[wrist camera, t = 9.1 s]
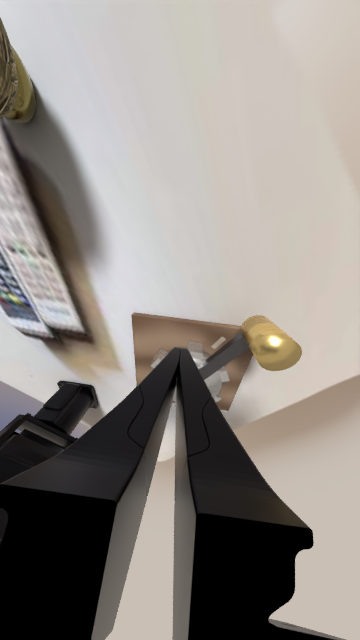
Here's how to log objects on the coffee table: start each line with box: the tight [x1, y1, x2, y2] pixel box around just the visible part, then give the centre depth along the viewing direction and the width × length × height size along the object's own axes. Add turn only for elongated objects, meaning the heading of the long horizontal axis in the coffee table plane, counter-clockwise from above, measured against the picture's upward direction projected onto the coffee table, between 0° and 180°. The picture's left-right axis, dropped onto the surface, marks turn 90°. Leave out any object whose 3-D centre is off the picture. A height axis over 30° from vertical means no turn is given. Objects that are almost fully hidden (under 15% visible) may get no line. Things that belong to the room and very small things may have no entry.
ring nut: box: [151, 315, 302, 406], centre depth 15 cm, size 18×11×6 cm, turn 141°
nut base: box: [132, 313, 253, 411], centre depth 20 cm, size 16×16×1 cm
